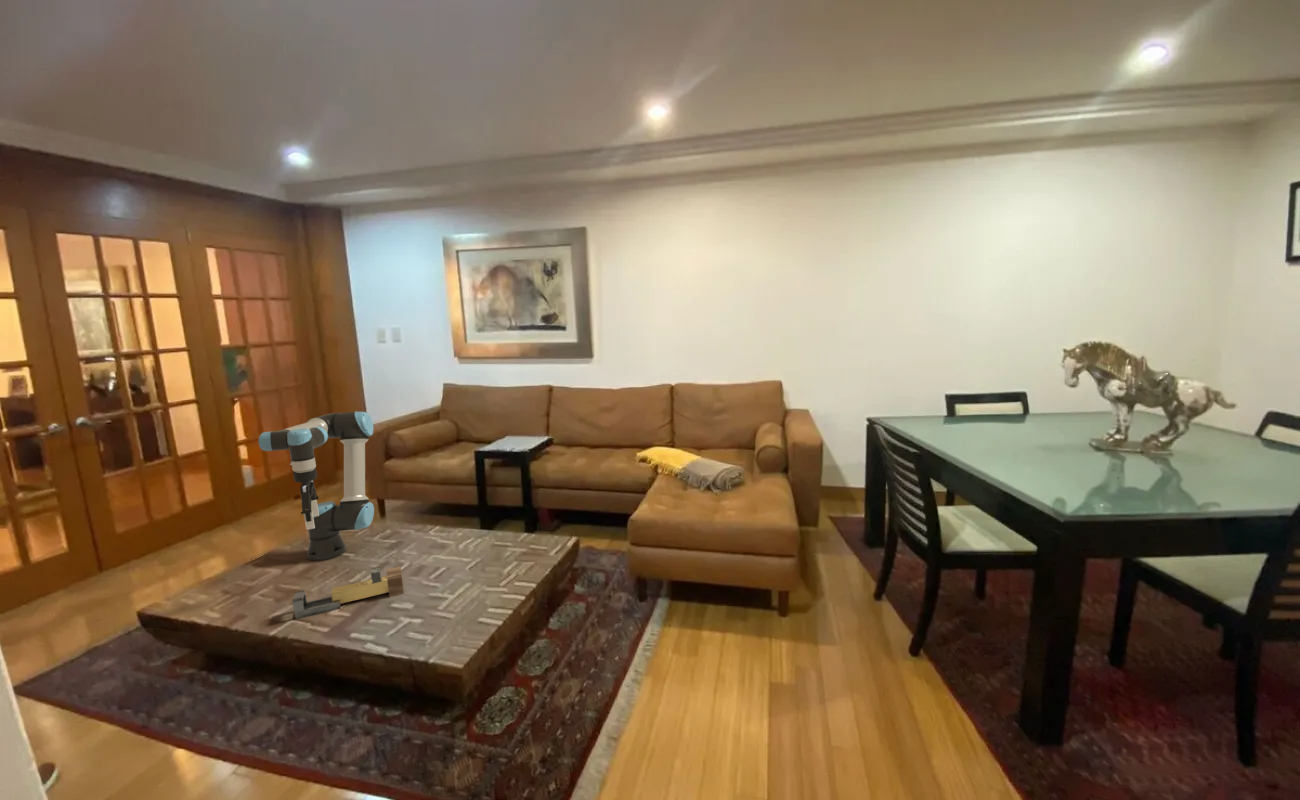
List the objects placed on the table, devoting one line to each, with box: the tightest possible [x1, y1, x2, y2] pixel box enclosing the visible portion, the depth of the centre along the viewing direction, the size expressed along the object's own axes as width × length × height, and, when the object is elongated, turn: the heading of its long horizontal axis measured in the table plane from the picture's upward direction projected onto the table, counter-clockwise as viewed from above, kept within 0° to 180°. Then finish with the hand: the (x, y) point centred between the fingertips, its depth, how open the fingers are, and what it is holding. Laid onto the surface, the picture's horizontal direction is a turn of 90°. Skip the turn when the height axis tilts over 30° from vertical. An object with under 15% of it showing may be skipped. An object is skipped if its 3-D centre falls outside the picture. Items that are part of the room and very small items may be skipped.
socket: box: [386, 565, 405, 598], centre depth 205 cm, size 7×5×8 cm
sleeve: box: [291, 589, 342, 620], centre depth 194 cm, size 6×14×7 cm, turn 116°
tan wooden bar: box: [330, 567, 389, 605], centre depth 200 cm, size 4×22×9 cm, turn 116°
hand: (312, 522), depth 202 cm, fingers open, 13 cm apart
